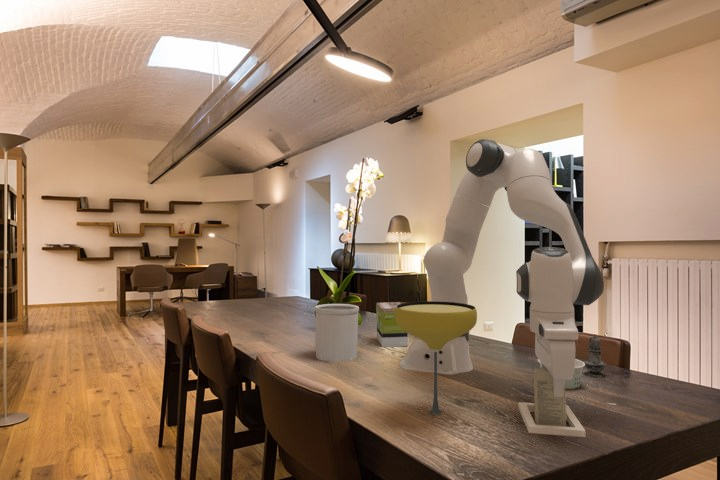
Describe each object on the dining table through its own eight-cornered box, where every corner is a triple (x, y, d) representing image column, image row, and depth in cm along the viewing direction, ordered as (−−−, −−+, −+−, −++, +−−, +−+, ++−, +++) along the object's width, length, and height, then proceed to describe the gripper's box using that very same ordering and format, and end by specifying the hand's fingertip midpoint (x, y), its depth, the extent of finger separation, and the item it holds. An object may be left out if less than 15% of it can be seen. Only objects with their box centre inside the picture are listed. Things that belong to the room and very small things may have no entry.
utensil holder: (351, 351, 169) (351, 302, 168) (365, 362, 154) (365, 308, 154) (310, 355, 164) (310, 304, 164) (321, 366, 150) (320, 310, 150)
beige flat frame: (528, 439, 95) (528, 426, 95) (518, 413, 109) (518, 402, 109) (585, 443, 93) (585, 430, 93) (567, 416, 107) (567, 405, 107)
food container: (582, 395, 122) (582, 369, 122) (533, 387, 128) (533, 363, 128) (587, 383, 132) (587, 359, 132) (542, 376, 138) (542, 353, 138)
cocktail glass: (493, 428, 101) (493, 310, 100) (414, 439, 95) (413, 314, 95) (453, 400, 118) (452, 299, 118) (384, 408, 113) (384, 302, 113)
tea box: (375, 338, 190) (375, 302, 190) (400, 338, 191) (400, 301, 191) (381, 347, 175) (381, 307, 175) (408, 346, 176) (408, 307, 176)
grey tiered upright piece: (608, 378, 136) (608, 336, 136) (586, 377, 137) (586, 335, 137) (602, 372, 142) (602, 332, 142) (581, 371, 143) (581, 331, 143)
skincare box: (565, 425, 102) (564, 368, 102) (566, 433, 98) (566, 374, 98) (533, 421, 104) (533, 366, 104) (533, 429, 100) (533, 371, 100)
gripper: (527, 315, 112) (528, 374, 112) (546, 332, 92) (547, 404, 92) (556, 316, 111) (556, 375, 111) (581, 333, 91) (581, 405, 91)
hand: (552, 388), depth 101 cm, fingers open, 8 cm apart
